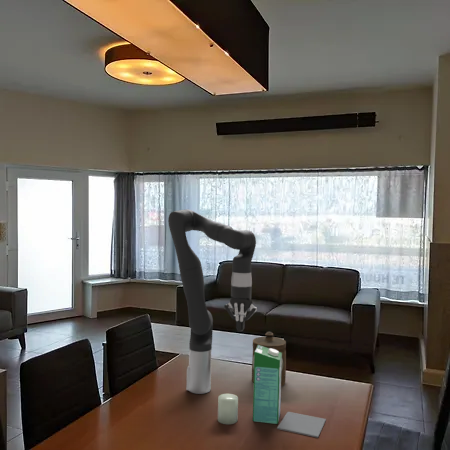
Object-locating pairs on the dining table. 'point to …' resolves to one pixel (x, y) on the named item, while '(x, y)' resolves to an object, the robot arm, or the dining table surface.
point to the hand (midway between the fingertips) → (240, 330)
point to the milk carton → (267, 385)
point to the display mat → (302, 424)
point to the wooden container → (274, 344)
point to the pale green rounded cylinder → (227, 408)
